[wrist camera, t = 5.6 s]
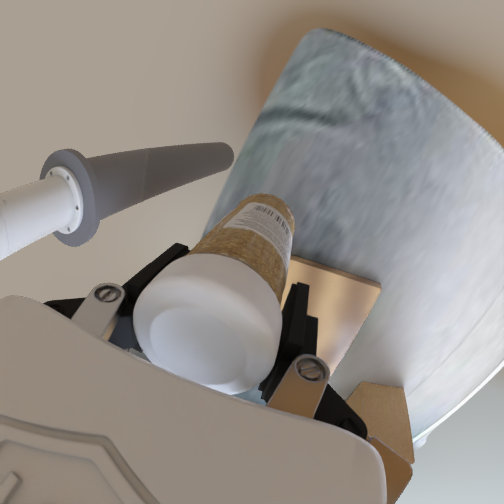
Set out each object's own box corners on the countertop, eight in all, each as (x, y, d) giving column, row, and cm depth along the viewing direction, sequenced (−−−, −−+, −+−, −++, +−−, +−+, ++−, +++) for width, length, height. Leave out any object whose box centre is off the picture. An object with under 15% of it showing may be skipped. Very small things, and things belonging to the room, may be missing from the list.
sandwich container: (324, 428, 43) (314, 495, 29) (359, 379, 37) (359, 461, 23) (363, 434, 41) (360, 498, 28) (404, 387, 35) (415, 464, 22)
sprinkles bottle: (221, 214, 20) (103, 316, 8) (273, 179, 18) (205, 246, 6) (256, 264, 21) (192, 409, 9) (308, 234, 19) (306, 379, 7)
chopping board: (222, 363, 42) (219, 369, 40) (253, 241, 32) (250, 246, 31) (315, 392, 40) (314, 399, 38) (380, 282, 30) (382, 289, 29)
